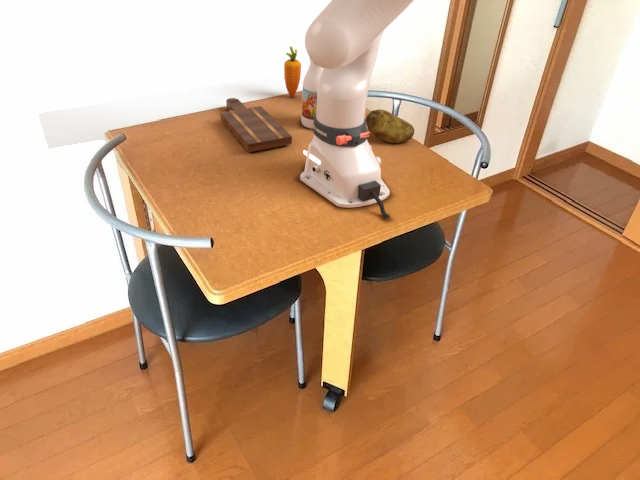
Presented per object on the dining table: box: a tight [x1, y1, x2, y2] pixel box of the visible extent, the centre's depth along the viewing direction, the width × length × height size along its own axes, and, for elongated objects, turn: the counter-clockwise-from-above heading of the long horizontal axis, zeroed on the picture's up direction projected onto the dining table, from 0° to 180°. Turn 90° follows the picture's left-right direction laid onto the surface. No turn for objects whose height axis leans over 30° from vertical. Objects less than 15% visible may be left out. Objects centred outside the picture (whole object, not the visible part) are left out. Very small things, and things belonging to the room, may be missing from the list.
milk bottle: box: [300, 57, 324, 130], centre depth 148 cm, size 8×8×20 cm
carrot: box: [283, 46, 302, 98], centre depth 164 cm, size 5×5×15 cm
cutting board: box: [219, 97, 293, 153], centre depth 149 cm, size 28×12×3 cm, turn 28°
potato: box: [365, 108, 415, 144], centre depth 147 cm, size 8×13×8 cm, turn 73°
